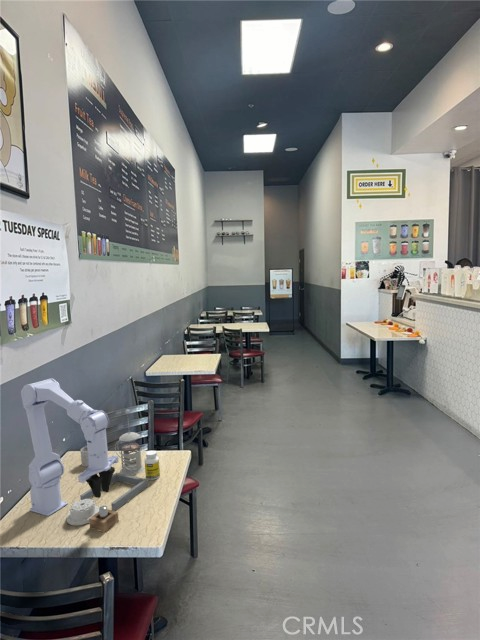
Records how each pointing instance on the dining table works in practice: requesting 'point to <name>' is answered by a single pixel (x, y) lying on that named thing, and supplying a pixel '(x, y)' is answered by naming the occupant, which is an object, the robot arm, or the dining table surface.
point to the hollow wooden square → (103, 521)
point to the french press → (133, 465)
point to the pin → (103, 512)
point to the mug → (84, 457)
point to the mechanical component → (82, 512)
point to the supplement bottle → (152, 465)
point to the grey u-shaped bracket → (137, 481)
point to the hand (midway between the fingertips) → (101, 494)
